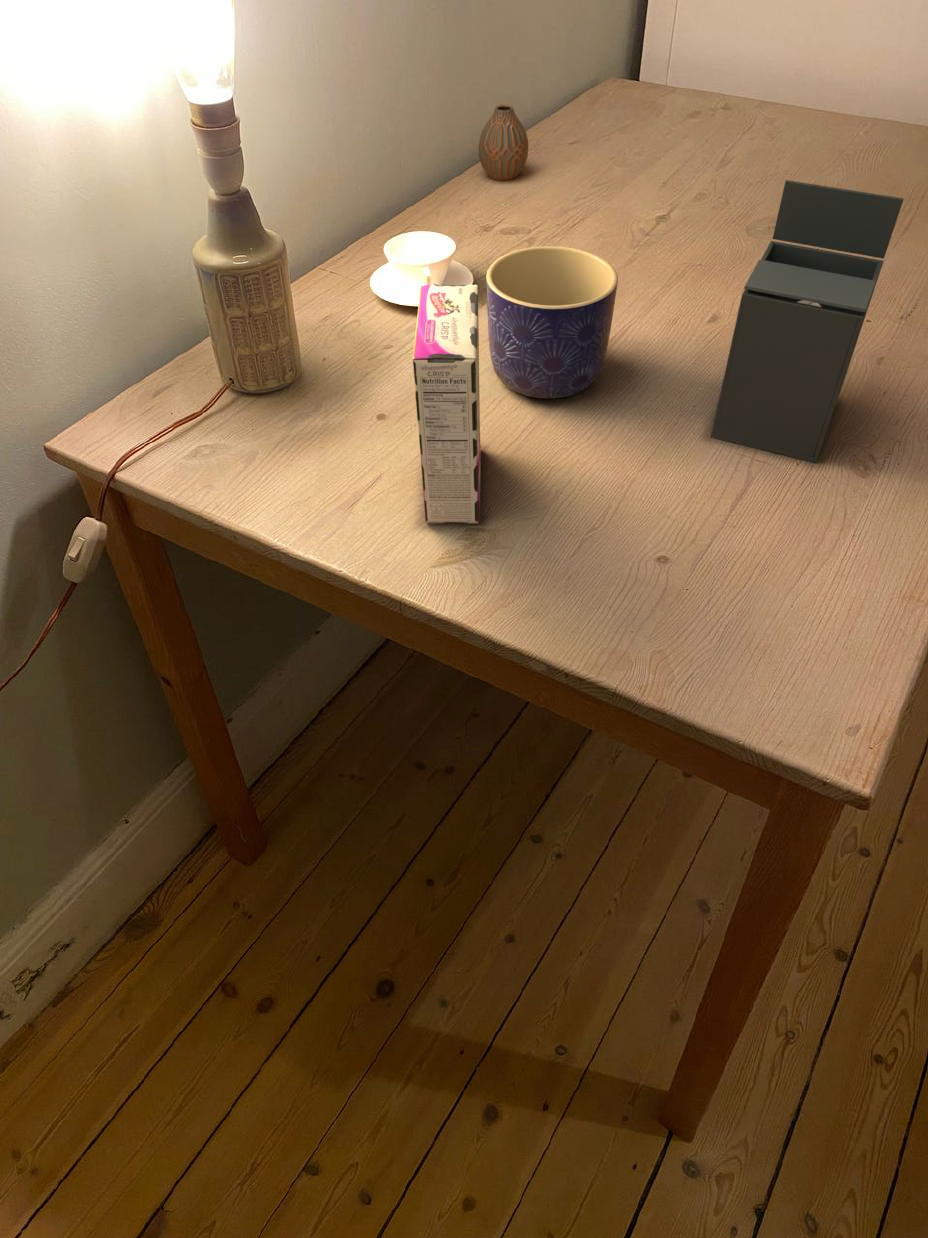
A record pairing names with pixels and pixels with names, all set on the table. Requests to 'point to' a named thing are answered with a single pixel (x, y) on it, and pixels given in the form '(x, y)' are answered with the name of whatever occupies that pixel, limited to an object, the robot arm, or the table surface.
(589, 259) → the planter
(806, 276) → the panel
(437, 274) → the teacup
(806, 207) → the chute
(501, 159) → the vase
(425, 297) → the candy bar box
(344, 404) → the table surface
